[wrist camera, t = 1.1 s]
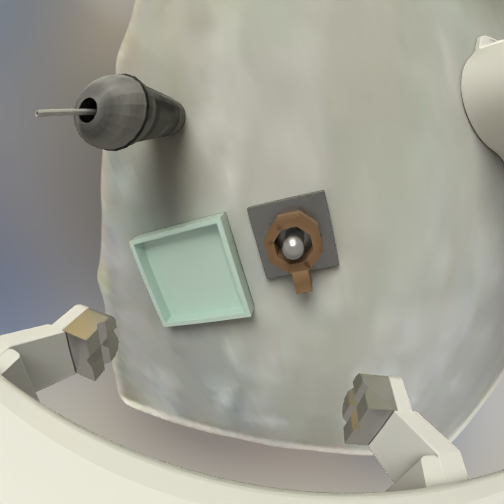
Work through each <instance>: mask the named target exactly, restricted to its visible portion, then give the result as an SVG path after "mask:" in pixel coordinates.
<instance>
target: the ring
mask: <svg viewBox="0 0 504 504" xmlns="http://www.w3.org/2000/svg"><path fill="white" fill-rule="evenodd" d="M292 227H298V228H300V229H302V230H303V231H305V232H306V233H308V234H310V236H311V241H312V243H311V244H310V246H309V247H308V249H307V250H306V251H305V252H303V254H302V256H301V257H300V258H298V259H296V260H291V259H288V258H286V257H285V256H284V254H283V252H282V249H281V248H280V247H279V243H278V240H277V236H278V234H279V233H280V231H281V230H283V229H288V228H292ZM263 241H264V245H265V248H266V252H267V256H268V259H269V262H270V263H272V264H274V265H275V266H277V267H279V268H280V269H282V270H284V271H285V272H287V273H292V277H293V281H294V285H295V289H296V293H297V294H300V293H305V292H311V291H312V278H311V273H310V269H311V268H312V266H313V265H314V264H315V262H316V261H317V259H318V258H319V257H320V255H321V254H322V252H323V245H322V240H321V235H320V231H319V226H318V222H317V221H315V220H314V219H312V218H311V217H309V216H307V215H306V214H304V213H303V212H301V211H299V210H298V211H294V212H289V213H285V214H280V215H277V217H276V219H275V220H274V222H273V224H272V225H271V227H270V228H269V230H268V232H267V234H266V236H265V238H264V240H263Z"/></svg>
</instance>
